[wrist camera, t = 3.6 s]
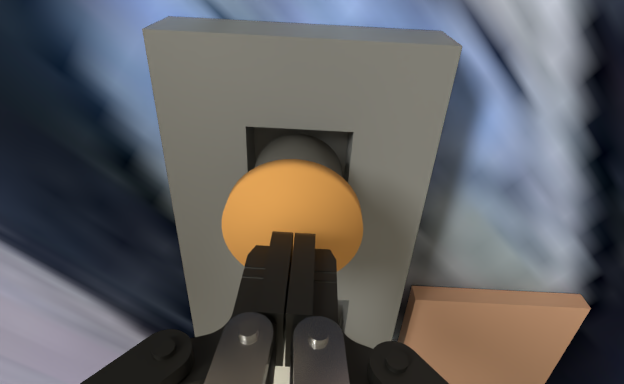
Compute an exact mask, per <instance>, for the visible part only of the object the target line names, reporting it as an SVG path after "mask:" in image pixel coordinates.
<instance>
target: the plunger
mask: <svg viewBox="0 0 624 384" xmlns="http://www.w3.org/2000/svg"><path fill="white" fill-rule="evenodd" d="M273 231H277V232H293V245H294V236H295V233H311V234H316V237H315V249H330V250H331V252H332V254H333V255H334V257H335V259H336V262H337V272H338V271H339V270H340V269H342V268H343V267H345V266H346V265H347V264H348V263H349V262H350V261H351V260H352V258H353V257H354V256H355V254H356V253H357V251H358V249H359V247H360V244H361V241H362V237H363V220H362V213H361V207H360V203H359V200H358V198H357V196H356V193H355V192H354V190H353V189H352V187H351V186H350V185H349V184H348V182H347V181H346V180H345V179H344V178H342V168H341V164H340V161H339V158H338V156H337V155H336V153H335V152H334V150H333V149H332V148H331V147H330V146H329V145H328V144H326V143H325V142H323V141H322V140H320V139H318V138H316V137H313V136H310V135H305V134H289V135H285V136H281V137H279V138H276V139H275V140H273V141H271V142H270V143H269V144H267V145H266V146H265V147H264V148H263V150H262V151H261V152H260V154H259V156H258V158H257V161H256V164H255V167H254V169H252V170H250V171H249V172H247V173H246V174H245V175H243V176H242V177H241V178H240V179H239V180H238V181H237V183H236V184H235V186H234V187H233V189H232V190H231V192H230V194H229V197H228V200H227V203H226V205H225V208H224V211H223V215H222V233H223V237H224V240H225V243H226V245H227V247H228V249H229V250H230V252H231V253H232V254H233V256H234V257H235V258H236V259H237V260H238V261H239V262H240V263H241V264H242V265H243V266H245V263H246V259H247V255H248V254H249V253H250V252H251V250H252V249H253V248H254V247H255V246H256V245H263V246H270V241H271V236H272V232H273Z"/></svg>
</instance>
